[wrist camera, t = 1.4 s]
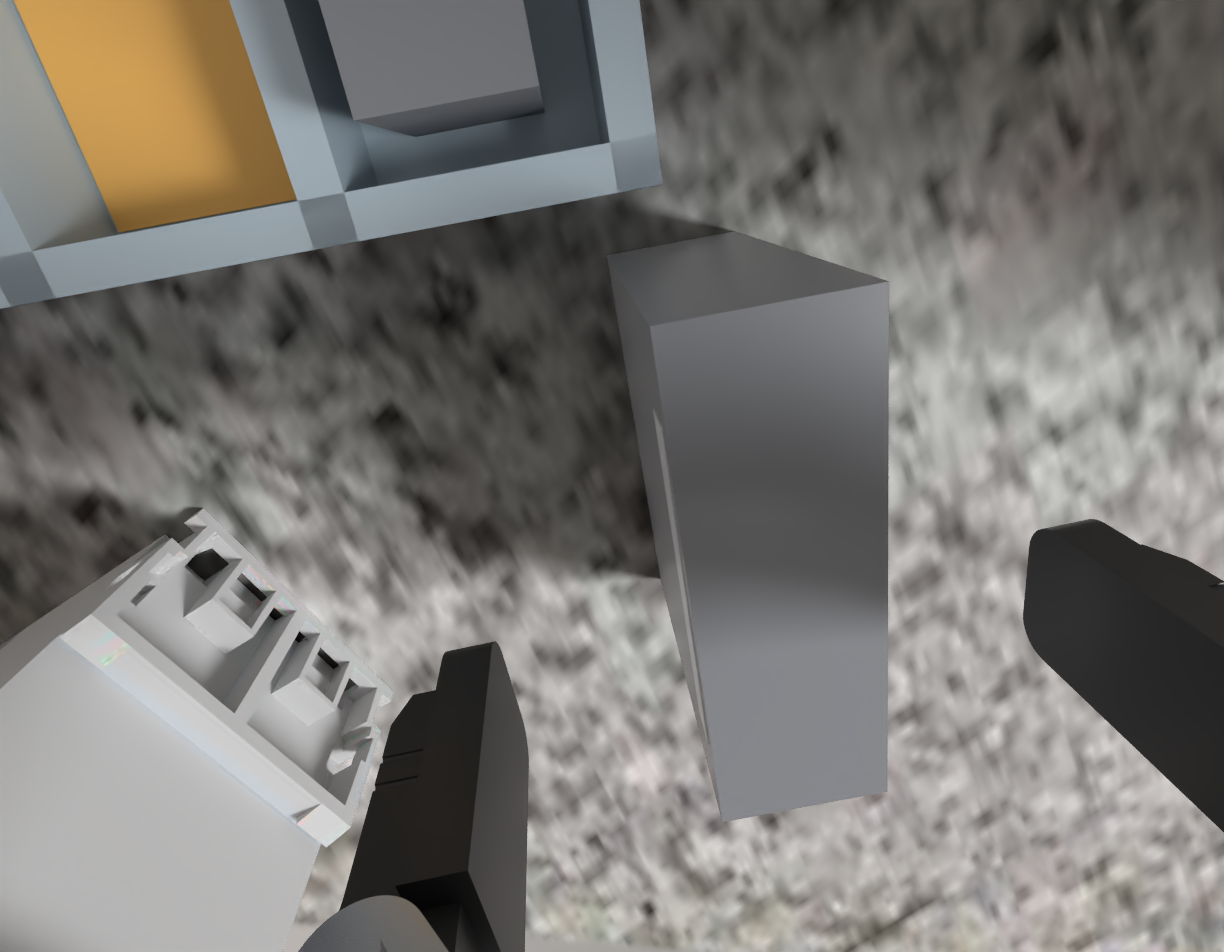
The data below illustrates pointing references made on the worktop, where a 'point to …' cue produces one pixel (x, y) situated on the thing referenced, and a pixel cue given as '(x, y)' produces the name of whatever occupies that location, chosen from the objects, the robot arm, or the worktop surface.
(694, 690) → the rectangular block
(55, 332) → the worktop surface
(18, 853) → the circuit breaker
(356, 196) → the rack
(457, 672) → the robot arm
